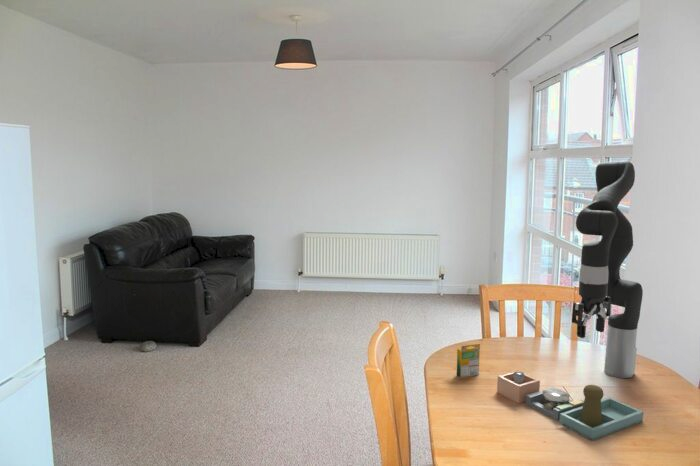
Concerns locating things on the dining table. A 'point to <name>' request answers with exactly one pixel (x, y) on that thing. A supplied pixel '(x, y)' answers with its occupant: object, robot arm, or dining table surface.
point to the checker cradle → (536, 399)
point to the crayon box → (468, 360)
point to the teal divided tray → (603, 419)
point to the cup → (517, 387)
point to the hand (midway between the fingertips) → (590, 334)
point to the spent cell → (518, 377)
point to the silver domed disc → (555, 396)
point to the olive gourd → (592, 406)
